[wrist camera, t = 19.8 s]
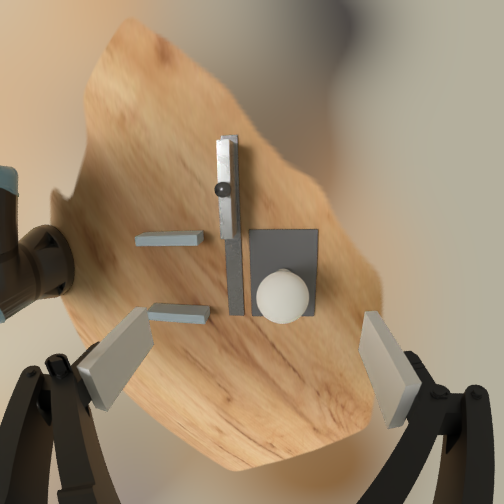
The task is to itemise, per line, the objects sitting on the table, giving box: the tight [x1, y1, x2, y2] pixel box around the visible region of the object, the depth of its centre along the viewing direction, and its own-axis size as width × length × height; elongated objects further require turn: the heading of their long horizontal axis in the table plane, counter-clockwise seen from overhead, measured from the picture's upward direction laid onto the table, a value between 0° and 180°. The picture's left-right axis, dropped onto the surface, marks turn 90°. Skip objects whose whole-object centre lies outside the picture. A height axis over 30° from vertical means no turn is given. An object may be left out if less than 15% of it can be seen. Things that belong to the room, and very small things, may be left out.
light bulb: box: [256, 268, 309, 324], centre depth 37 cm, size 7×7×11 cm
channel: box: [135, 230, 210, 324], centre depth 42 cm, size 10×14×4 cm
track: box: [221, 135, 244, 316], centre depth 41 cm, size 2×28×1 cm, turn 2°
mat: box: [249, 229, 318, 316], centre depth 42 cm, size 10×14×1 cm
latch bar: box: [215, 139, 238, 239], centre depth 37 cm, size 2×13×6 cm, turn 2°
